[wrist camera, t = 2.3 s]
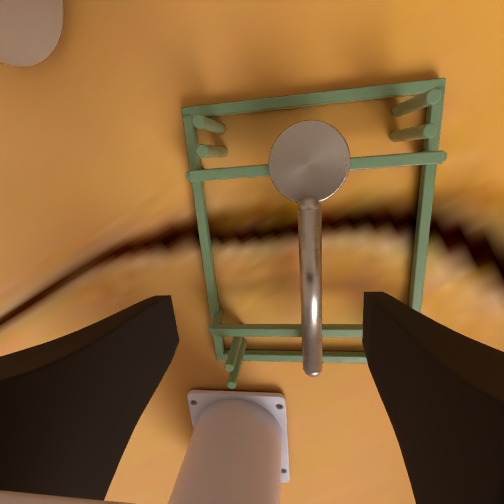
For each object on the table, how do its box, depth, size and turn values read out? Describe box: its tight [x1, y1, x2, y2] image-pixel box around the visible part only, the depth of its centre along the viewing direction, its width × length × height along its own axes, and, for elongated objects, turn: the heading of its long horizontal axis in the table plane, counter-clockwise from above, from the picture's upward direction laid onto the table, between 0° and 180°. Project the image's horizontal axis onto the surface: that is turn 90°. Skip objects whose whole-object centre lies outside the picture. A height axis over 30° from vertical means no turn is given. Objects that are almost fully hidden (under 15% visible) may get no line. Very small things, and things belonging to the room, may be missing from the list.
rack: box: [182, 78, 447, 389], centre depth 17 cm, size 18×14×4 cm
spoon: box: [269, 120, 350, 377], centre depth 16 cm, size 15×4×1 cm, turn 5°
